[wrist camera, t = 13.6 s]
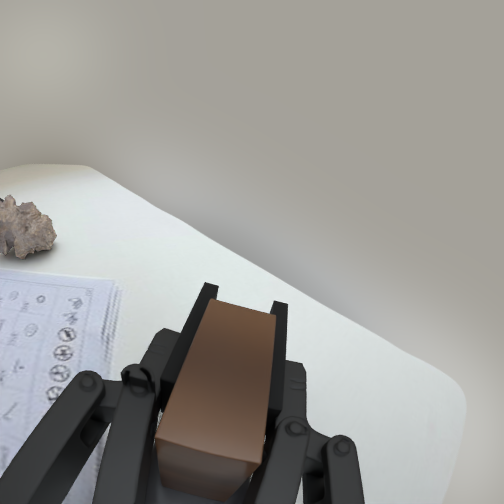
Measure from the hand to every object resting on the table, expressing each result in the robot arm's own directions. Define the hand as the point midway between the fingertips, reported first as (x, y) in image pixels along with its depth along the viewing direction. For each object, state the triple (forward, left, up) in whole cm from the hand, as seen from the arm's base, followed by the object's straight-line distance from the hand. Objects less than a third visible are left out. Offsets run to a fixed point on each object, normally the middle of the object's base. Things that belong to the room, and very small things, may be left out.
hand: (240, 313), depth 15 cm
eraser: (-4, +4, -7) cm, 9 cm away
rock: (+22, +14, -7) cm, 27 cm away
